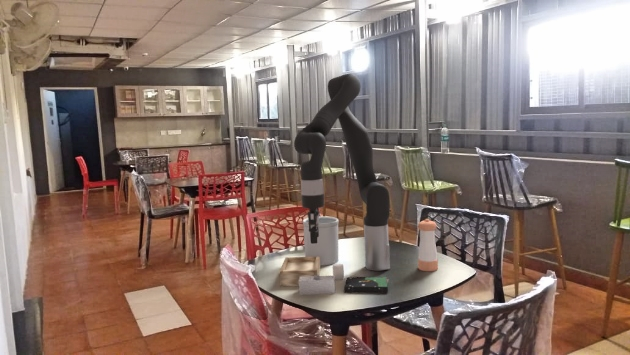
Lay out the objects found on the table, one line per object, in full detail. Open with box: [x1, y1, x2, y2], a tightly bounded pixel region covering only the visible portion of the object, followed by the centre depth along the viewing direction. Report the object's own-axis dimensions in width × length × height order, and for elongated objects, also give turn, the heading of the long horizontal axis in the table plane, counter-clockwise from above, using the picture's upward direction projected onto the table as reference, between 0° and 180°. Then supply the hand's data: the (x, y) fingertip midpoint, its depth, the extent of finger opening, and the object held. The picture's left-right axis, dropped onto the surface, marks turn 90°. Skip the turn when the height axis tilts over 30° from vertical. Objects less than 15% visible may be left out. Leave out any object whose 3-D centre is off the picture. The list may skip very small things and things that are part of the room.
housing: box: [298, 275, 336, 296], centre depth 164 cm, size 12×4×6 cm, turn 87°
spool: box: [332, 263, 345, 281], centre depth 176 cm, size 4×4×5 cm
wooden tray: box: [279, 256, 321, 287], centre depth 179 cm, size 13×17×6 cm
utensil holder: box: [302, 215, 339, 267], centre depth 199 cm, size 15×15×18 cm
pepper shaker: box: [417, 218, 439, 272], centre depth 182 cm, size 7×7×19 cm
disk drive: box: [343, 276, 389, 294], centre depth 166 cm, size 10×3×15 cm
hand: (314, 240), depth 162 cm, fingers open, 8 cm apart
